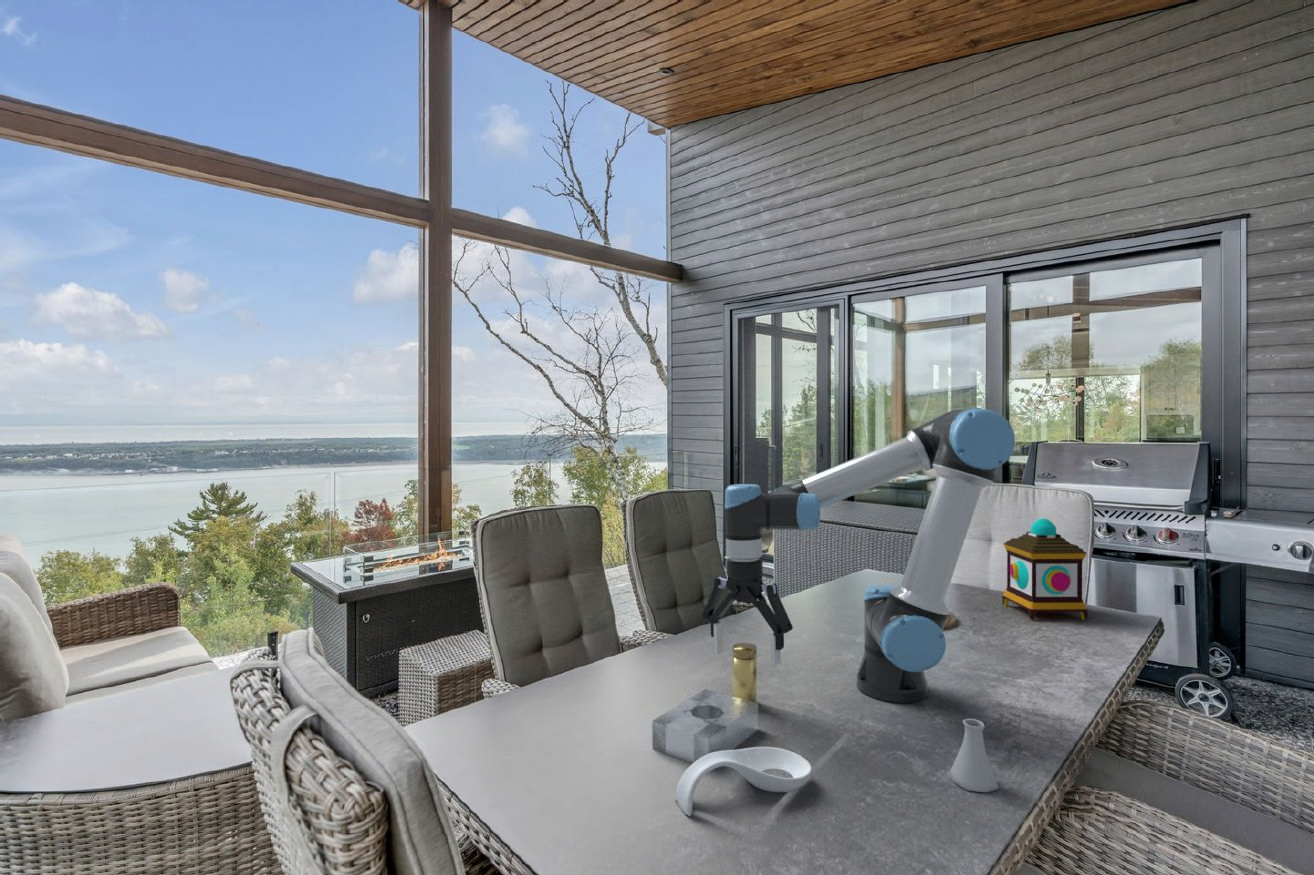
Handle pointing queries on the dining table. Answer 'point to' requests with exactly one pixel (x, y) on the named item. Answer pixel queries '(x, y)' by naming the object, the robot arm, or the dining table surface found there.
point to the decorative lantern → (1044, 572)
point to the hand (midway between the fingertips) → (746, 658)
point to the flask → (973, 761)
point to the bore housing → (704, 725)
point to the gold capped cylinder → (745, 671)
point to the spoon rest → (746, 771)
